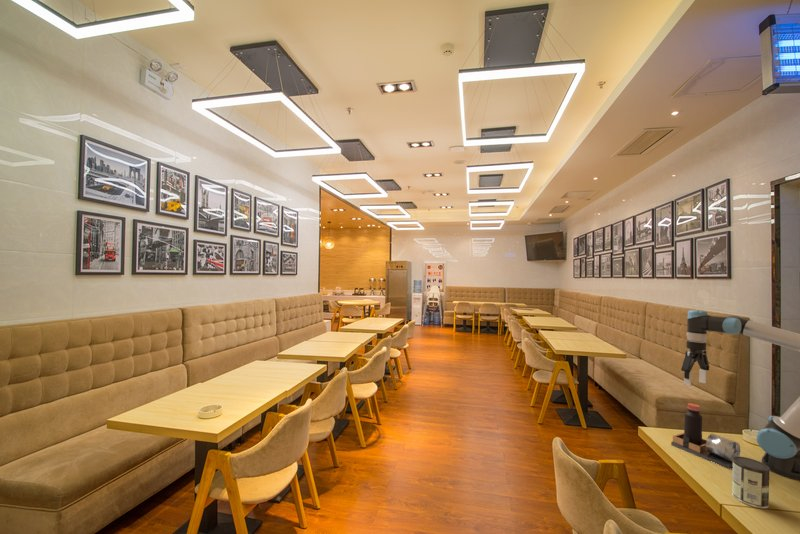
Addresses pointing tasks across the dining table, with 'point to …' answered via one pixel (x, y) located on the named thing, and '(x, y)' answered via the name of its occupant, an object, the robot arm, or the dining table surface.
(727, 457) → the motor mount
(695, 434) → the vinegar
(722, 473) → the dining table surface
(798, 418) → the robot arm
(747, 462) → the coffee can
